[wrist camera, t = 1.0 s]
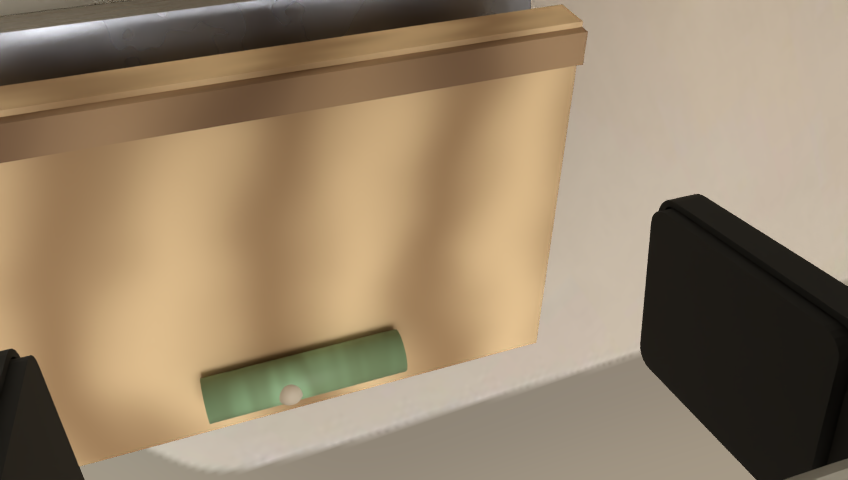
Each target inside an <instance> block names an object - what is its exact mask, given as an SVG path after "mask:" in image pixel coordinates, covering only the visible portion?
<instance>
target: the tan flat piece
mask: <svg viewBox="0 0 848 480" xmlns="http://www.w3.org/2000/svg"><path fill="white" fill-rule="evenodd" d="M582 24H583V21H582V20H581V19H579V18H578V17H577V16H576V15H574V14H573V13H572V12H571V11H570V10H568V9H567V8H566V7H565V6H563V5H555V6H548V7H541V8H535V9H528V10H521V11H514V12H507V13H500V14H493V15H486V16H480V17H473V18H466V19H459V20H452V21H445V22H438V23H431V24H425V25H418V26H411V27H404V28H397V29H390V30H383V31H376V32H370V33H363V34H356V35H349V36H342V37H335V38H328V39H322V40H315V41H308V42H301V43H294V44H287V45H280V46H273V47H267V48H260V49H253V50H246V51H239V52H232V53H225V54H218V55H212V56H205V57H198V58H191V59H184V60H177V61H170V62H163V63H157V64H150V65H143V66H136V67H129V68H122V69H115V70H108V71H102V72H95V73H88V74H81V75H74V76H67V77H60V78H54V79H47V80H40V81H33V82H26V83H19V84H12V85H5V86H0V351H2V350H7V349H11V348H12V349H14V350H16V352H17V353H18V354H19V356H20V358H21V357H25V356H29V355H32V356H34V358H35V359H36V360H37V363H38V365H39V367H40V370H41V372H42V375H43V377H44V380H45V382H46V385H47V387H48V390H49V392H50V395H51V397H52V400H53V402H54V405H55V407H56V410H57V412H58V415H59V417H60V420H61V422H62V425H63V427H64V430H65V432H66V435H67V437H68V440H69V442H70V445H71V447H72V450H73V452H74V455H75V457H76V460H77V462H78V465H79V466H83V465H86V464H90V463H94V462H98V461H101V460H105V459H109V458H113V457H116V456H120V455H124V454H127V453H131V452H135V451H138V450H142V449H146V448H150V447H153V446H157V445H161V444H164V443H168V442H172V441H175V440H179V439H183V438H186V437H190V436H194V435H197V434H201V433H205V432H208V431H212V430H216V429H220V428H223V427H227V426H231V425H234V424H238V423H242V422H245V421H249V420H253V419H256V418H260V417H264V416H267V415H271V414H275V413H279V412H282V411H286V410H290V409H293V408H297V407H301V406H304V405H308V404H312V403H315V402H319V401H323V400H326V399H330V398H334V397H337V396H341V395H345V394H349V393H352V392H356V391H360V390H363V389H367V388H371V387H374V386H378V385H382V384H385V383H389V382H393V381H396V380H400V379H404V378H408V377H411V376H415V375H419V374H422V373H426V372H430V371H433V370H437V369H441V368H444V367H448V366H452V365H455V364H459V363H463V362H466V361H470V360H474V359H478V358H481V357H485V356H489V355H492V354H496V353H500V352H503V351H507V350H511V349H514V348H518V347H522V346H525V345H529V344H533V343H536V340H537V333H538V326H539V319H540V313H541V306H542V299H543V292H544V285H545V278H546V271H547V264H548V257H549V251H550V244H551V237H552V230H553V223H554V216H555V209H556V202H557V196H558V189H559V182H560V175H561V168H562V161H563V154H564V147H565V141H566V134H567V127H568V120H569V113H570V106H571V99H572V92H573V85H574V79H575V72H576V66H577V65H582V64H583V60H584V53H585V47H586V40H587V33H588V31H586V30H585V29H584V28H583V27H582Z"/></svg>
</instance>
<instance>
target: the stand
mask: <svg viewBox="0 0 848 480" xmlns="http://www.w3.org/2000/svg"><path fill="white" fill-rule="evenodd" d="M528 9H531V0H129V1H121V2H113V3H105V4H97V5H89V6H80V7H72V8H64V9H56V10H48V11H40V12H32V13H24V14H16V15H8V16H0V86H5V85H12V84H19V83H26V82H33V81H40V80H47V79H54V78H60V77H67V76H74V75H81V74H88V73H95V72H102V71H108V70H115V69H122V68H129V67H136V66H143V65H150V64H157V63H163V62H170V61H177V60H184V59H191V58H198V57H205V56H212V55H218V54H225V53H232V52H239V51H246V50H253V49H260V48H267V47H273V46H280V45H287V44H294V43H301V42H308V41H315V40H322V39H328V38H335V37H342V36H349V35H356V34H363V33H370V32H376V31H383V30H390V29H397V28H404V27H411V26H418V25H425V24H431V23H438V22H445V21H452V20H459V19H466V18H473V17H480V16H486V15H493V14H500V13H507V12H514V11H521V10H528Z"/></svg>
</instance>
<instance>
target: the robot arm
mask: <svg viewBox="0 0 848 480" xmlns="http://www.w3.org/2000/svg"><path fill="white" fill-rule="evenodd" d="M640 349H641V354H642V357H643V360H644V361H645V364H646V365H647V366H648V367H649V369H650V370H651V371H652V372H653V373H654V374H655V375H656V376H657V377H658V378H659V379H660V380H661V381H662V382H663V383H664V384H665V385H666V386H667V387H668V388H669V390H670V391H671V392H672V393H673V394H675V396H676V397H677V398H678V399H679V400H680V401H681V402H682V403H683V404H684V405H685V406H686V407H687V408H688V409H689V410H690V411H691V412H692V413H693V414H694V415H695V416H696V418H698V419H699V421H700V422H701V423H702V424H703V425H704V426H705V427H706V428H707V429H708V430H709V431H710V432H711V433H712V434H713V435H714V436H715V437H716V438H717V439H718V440H719V441H720V442H721V443H722V445H723V446H725V448H726V449H727V450H728V451H729V452H730V453H731V454H732V455H733V456H734V457H735V458H736V459H737V460H738V461H739V462H740V463H741V464H742V465H743V466H744V467H745V468H746V469H747V470H748V471H749V473H750V474H751V475H752V476H753V477H754V478H755V479H756V480H848V286H846V285H845V284H843V283H841V282H840V281H838V280H837V279H835V278H833V277H832V276H830V275H829V274H827V273H826V272H824V271H822V270H821V269H819V268H818V267H816V266H814V265H813V264H811V263H810V262H808V261H806V260H805V259H803V258H802V257H800V256H798V255H797V254H795V253H794V252H792V251H791V250H789V249H787V248H786V247H784V246H783V245H781V244H779V243H778V242H776V241H775V240H773V239H771V238H770V237H768V236H767V235H765V234H764V233H762V232H760V231H759V230H757V229H756V228H754V227H752V226H751V225H749V224H748V223H746V222H744V221H743V220H741V219H740V218H738V217H736V216H735V215H733V214H732V213H730V212H729V211H727V210H725V209H724V208H722V207H721V206H719V205H717V204H716V203H714V202H713V201H711V200H709V199H708V198H706V197H705V196H703V195H700V194H694V195H689V196H685V197H680V198H676V199H672V200H667V201H665V202H664V203H662V205H661V206H660V208H659V211H658V212H656V213H655V214H654V215H653V217H652V221H651V230H650V242H649V253H648V264H647V275H646V286H645V297H644V309H643V320H642V331H641V342H640ZM0 480H84V477H83V475H82V472H81V470H80V467H79V465H78V462H77V460H76V457H75V455H74V452H73V450H72V447H71V445H70V442H69V440H68V437H67V435H66V432H65V430H64V427H63V425H62V422H61V420H60V417H59V415H58V412H57V410H56V407H55V405H54V402H53V400H52V397H51V395H50V392H49V390H48V387H47V385H46V382H45V380H44V377H43V375H42V372H41V370H40V367H39V365H38V363H37V360H36V359H35V358H34V356H32V355H29V356H25V357H21V358H20V356H19V354H18V353H17V352H16V350H14V349H12V348H11V349H7V350H2V351H0Z"/></svg>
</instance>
